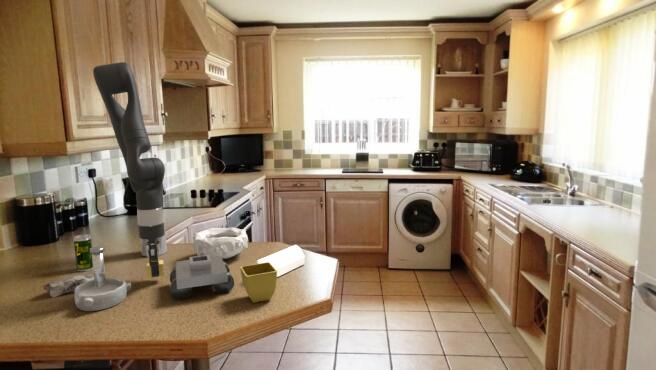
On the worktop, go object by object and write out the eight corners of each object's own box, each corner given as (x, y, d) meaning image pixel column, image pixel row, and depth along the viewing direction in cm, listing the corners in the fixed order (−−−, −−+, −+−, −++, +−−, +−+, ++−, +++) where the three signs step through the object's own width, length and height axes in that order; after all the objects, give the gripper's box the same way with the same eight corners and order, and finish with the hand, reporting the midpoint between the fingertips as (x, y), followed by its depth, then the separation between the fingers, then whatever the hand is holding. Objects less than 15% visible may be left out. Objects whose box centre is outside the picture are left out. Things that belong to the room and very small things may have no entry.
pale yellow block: (147, 273, 132) (146, 262, 131) (164, 271, 134) (163, 259, 133) (147, 278, 128) (146, 266, 128) (164, 275, 130) (163, 263, 130)
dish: (91, 317, 108) (89, 299, 108) (62, 306, 115) (60, 289, 114) (140, 297, 121) (138, 280, 120) (111, 288, 128) (110, 272, 127)
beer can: (77, 268, 145) (74, 235, 144) (95, 265, 148) (91, 233, 146) (75, 273, 141) (71, 239, 139) (93, 270, 143) (90, 237, 141)
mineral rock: (100, 280, 134) (99, 267, 133) (101, 288, 127) (100, 275, 126) (46, 291, 126) (44, 277, 126) (44, 300, 120) (42, 285, 119)
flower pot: (247, 307, 112) (246, 276, 111) (241, 295, 120) (239, 266, 119) (278, 301, 116) (277, 271, 114) (270, 290, 124) (269, 261, 122)
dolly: (170, 283, 130) (168, 254, 128) (228, 275, 136) (226, 247, 135) (170, 304, 115) (167, 271, 114) (235, 293, 121) (233, 262, 120)
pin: (94, 284, 118) (91, 247, 117) (108, 282, 119) (105, 245, 118) (92, 288, 115) (88, 250, 113) (106, 286, 116) (103, 249, 114)
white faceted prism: (266, 275, 125) (312, 254, 145) (250, 260, 128) (298, 241, 148) (258, 292, 128) (304, 269, 148) (243, 277, 131) (291, 257, 151)
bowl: (209, 248, 167) (208, 224, 165) (257, 250, 163) (256, 225, 161) (182, 265, 147) (180, 238, 145) (235, 268, 142) (233, 240, 141)
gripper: (138, 218, 133) (143, 268, 136) (136, 228, 120) (141, 284, 123) (163, 215, 136) (167, 264, 139) (163, 226, 123) (168, 280, 126)
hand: (155, 273), depth 131 cm, fingers closed on pale yellow block, 4 cm apart
